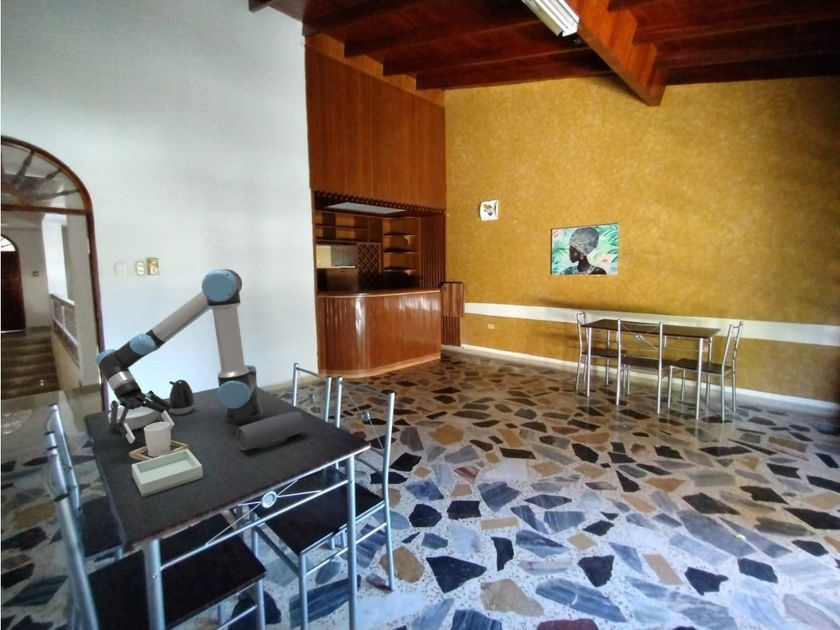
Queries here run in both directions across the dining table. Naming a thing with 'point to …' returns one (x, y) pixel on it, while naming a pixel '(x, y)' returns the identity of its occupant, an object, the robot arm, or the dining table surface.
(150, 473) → the bin
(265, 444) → the bluetooth speaker
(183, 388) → the pump dispenser
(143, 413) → the cereal bowl
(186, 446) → the tan flat square frame
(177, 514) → the dining table surface
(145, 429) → the white cup
